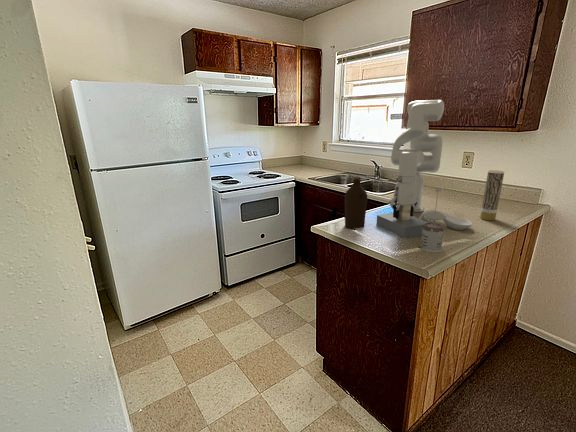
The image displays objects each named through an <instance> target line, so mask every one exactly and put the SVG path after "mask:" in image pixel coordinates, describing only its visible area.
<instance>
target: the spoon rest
mask: <svg viewBox="0 0 576 432" xmlns="http://www.w3.org/2000/svg"><path fill="white" fill-rule="evenodd" d="M428 212H435V209H431V210H430V209H429V210H425V211H424V212H422V213H421V214H420V216H419V218H418V219H421V220H423V218H424V217H425V216H424V214H426V213H428ZM436 212H439V213H441V214H443V215H445V216H446V218H445V219H444V220H442V221H443V222H444V224H446V226H447V227H448V228H450V229H451V230H457V231H462V230H463V231H464V230H467V229H470V227H471V226H473V223H472V221H470V220H468V219H465V218H461V217H459V216H454V215H451V214H448V213H445V212H443V211H439V210H436Z"/></svg>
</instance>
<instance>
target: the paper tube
mask: <svg viewBox="0 0 576 432" xmlns="http://www.w3.org/2000/svg"><path fill="white" fill-rule="evenodd" d="M504 177H505V171H503V170H498V169H497V170H494V169H493V170H492V169H489V170H488V171H487V176H486V182H485V188H484V193H483V197H482V198H483V199H482V205H481V210H480V211H481V212H480V219H482V220H484V221H495V220H496V218H497V212H498V208H499V201H500V196H501V192H502V187H503V186H502V185H503V182H504Z"/></svg>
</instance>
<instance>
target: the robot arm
mask: <svg viewBox="0 0 576 432" xmlns="http://www.w3.org/2000/svg"><path fill="white" fill-rule="evenodd" d="M406 111H407V114H408V118H407V123H406V129H405V131H404V132H402V133H401V134H400V135H399V136H398V137H396V140H395V141H394V142H393V143H394V144H393V146H392V150H391V155H390V157H391V158H390V160H391V164H393V165H394V166H398V173H397V177H396V179H395V180H396V181H397V182H396V184H395V188H394V191H393V198H391V199H390V200H389V201H388V204H389V205H390V207H391V208H392V210H393V212H392V213H393V217H394V218H396V219H398V218H399V210H398V209H399V207H400V206H402V205H410V204H411V210H410V216H411V217H412V216H413V217H414V213H420V212H423V211H424V207H422V206H421V205H422V199H423V198H422V197H423V188H424V182H425V180H424V177H423V176H422V174H421V173H427V174H428V173H432V174H434V173H437V172H439V169H440V166H441V158H442V151H443V138H442V136H441V135H440V134H433V133H432V134H431V133H430V134H429V127H430V125H429V124H430V123H429V122H438V121H440V120H441V118H442V117H443V114H444V111H445V103H444V101H443V100H442V99H429V100H428V99H425V100H424V99H423V100H414V101H411V102H409V103H408V104H407V110H406ZM407 143H410V144H409V146H410V149H402V148H401V147H403V146H404V145H405V144H407ZM424 153H430V154H424Z"/></svg>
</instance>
